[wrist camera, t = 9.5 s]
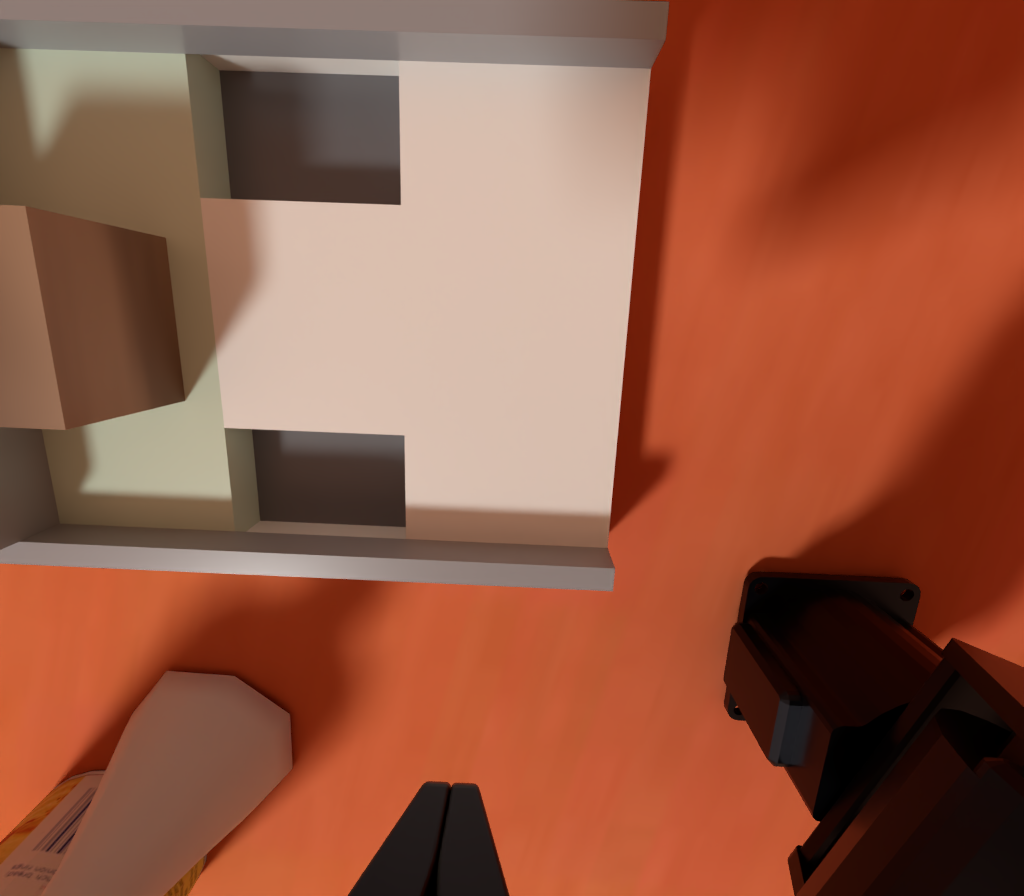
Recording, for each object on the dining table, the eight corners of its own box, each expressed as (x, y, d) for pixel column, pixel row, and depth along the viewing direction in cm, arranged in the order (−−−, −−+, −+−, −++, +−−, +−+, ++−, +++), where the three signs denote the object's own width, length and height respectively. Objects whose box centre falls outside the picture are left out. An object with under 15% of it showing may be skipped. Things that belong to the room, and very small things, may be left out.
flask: (155, 641, 21) (-152, 909, 12) (318, 700, 22) (155, 1002, 12) (120, 770, 23) (-172, 1096, 13) (273, 821, 24) (98, 1170, 14)
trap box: (638, 69, 16) (681, -26, 11) (597, 544, 20) (618, 608, 15) (3, 49, 16) (-191, -51, 12) (88, 521, 20) (-33, 578, 16)
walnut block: (165, 237, 15) (25, 206, 11) (185, 401, 17) (65, 430, 12) (3, 231, 16) (-200, 197, 11) (35, 394, 17) (-138, 420, 12)
